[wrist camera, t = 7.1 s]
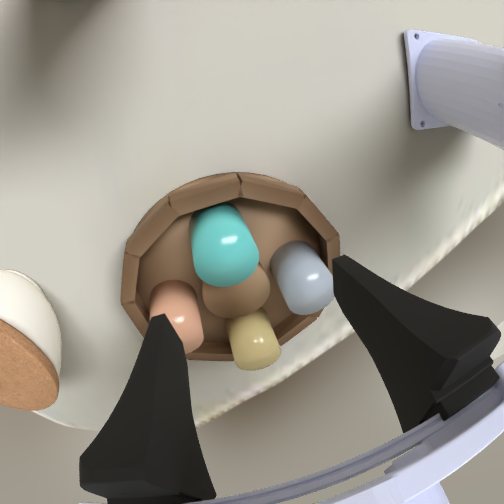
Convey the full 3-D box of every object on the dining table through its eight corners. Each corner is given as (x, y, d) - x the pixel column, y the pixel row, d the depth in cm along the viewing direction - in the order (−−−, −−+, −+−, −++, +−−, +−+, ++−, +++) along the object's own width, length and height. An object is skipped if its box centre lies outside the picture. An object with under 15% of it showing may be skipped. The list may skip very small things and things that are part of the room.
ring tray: (318, 146, 19) (335, 156, 17) (330, 308, 29) (341, 326, 27) (87, 218, 18) (79, 236, 16) (172, 359, 28) (174, 379, 26)
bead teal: (237, 194, 19) (253, 224, 16) (247, 240, 21) (263, 276, 18) (182, 209, 19) (185, 244, 16) (197, 255, 21) (204, 293, 18)
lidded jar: (17, 349, 23) (-2, 429, 15) (-49, 268, 16) (-93, 348, 9) (96, 326, 23) (86, 424, 16) (26, 223, 17) (-31, 319, 9)
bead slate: (312, 234, 22) (336, 266, 19) (316, 271, 24) (337, 304, 21) (265, 249, 22) (283, 284, 19) (273, 285, 24) (290, 321, 21)
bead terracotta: (187, 273, 22) (193, 313, 18) (203, 307, 24) (210, 346, 20) (142, 288, 21) (140, 328, 18) (160, 320, 23) (162, 359, 20)
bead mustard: (262, 299, 25) (277, 335, 22) (269, 326, 27) (283, 361, 24) (220, 312, 24) (229, 351, 21) (231, 338, 27) (240, 375, 23)
